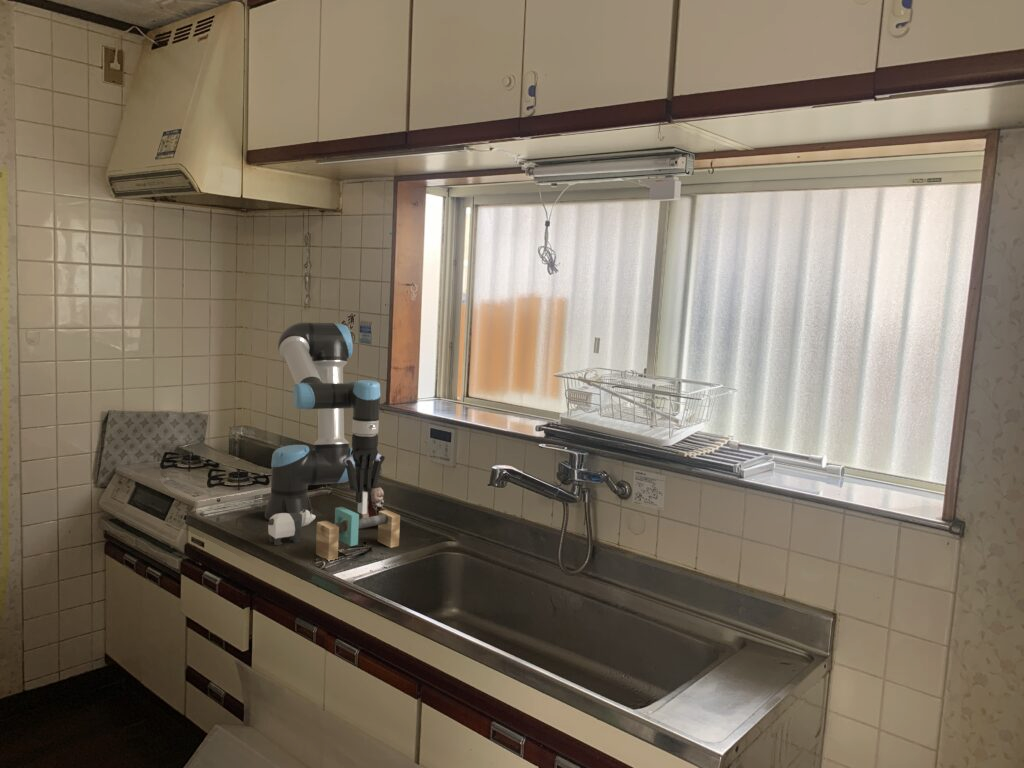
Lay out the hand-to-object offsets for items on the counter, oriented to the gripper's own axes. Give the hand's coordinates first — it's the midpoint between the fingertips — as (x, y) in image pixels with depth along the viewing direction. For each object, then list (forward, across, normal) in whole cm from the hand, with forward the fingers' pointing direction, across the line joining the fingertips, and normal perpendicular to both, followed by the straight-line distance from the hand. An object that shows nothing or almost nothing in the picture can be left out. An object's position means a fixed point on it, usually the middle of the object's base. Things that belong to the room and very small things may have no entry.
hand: (362, 512), depth 228 cm
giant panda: (+12, -14, +18) cm, 25 cm away
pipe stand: (+11, -1, 0) cm, 11 cm away
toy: (+12, +16, +16) cm, 25 cm away
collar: (+8, -5, 0) cm, 9 cm away
